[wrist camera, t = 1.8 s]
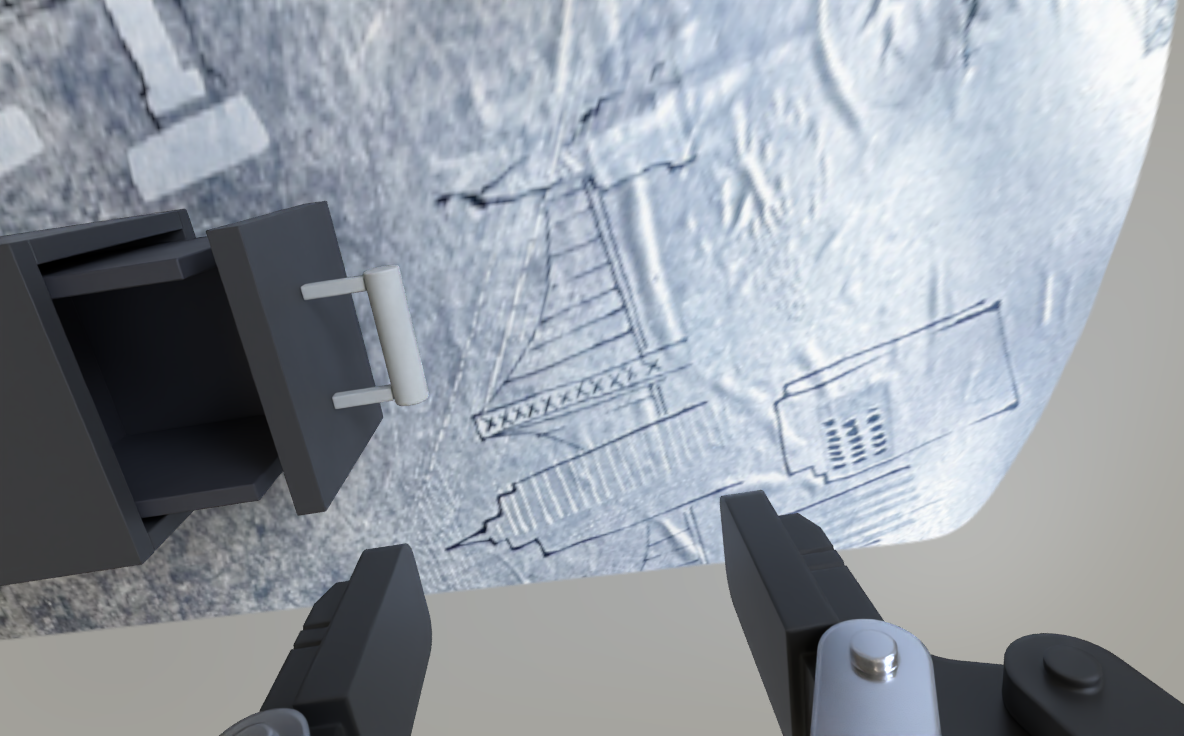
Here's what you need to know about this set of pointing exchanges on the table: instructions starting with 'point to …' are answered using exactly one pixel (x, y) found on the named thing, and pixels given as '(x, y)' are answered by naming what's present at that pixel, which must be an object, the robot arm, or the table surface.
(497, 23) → the table surface
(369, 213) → the table surface
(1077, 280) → the table surface
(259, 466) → the dark grey drawer
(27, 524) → the grey drawer cabinet
